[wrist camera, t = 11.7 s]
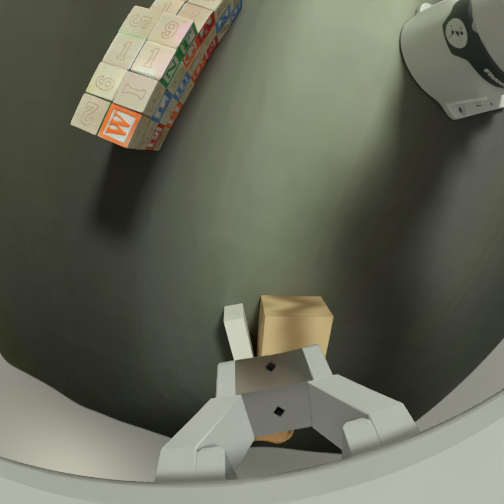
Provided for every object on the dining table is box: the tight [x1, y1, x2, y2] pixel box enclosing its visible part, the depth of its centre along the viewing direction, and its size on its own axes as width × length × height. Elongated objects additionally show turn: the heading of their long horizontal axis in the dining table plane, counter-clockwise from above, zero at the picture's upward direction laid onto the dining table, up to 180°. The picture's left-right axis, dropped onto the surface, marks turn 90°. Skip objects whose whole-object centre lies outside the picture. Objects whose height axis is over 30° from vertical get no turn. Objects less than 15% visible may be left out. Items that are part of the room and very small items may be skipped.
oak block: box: [256, 295, 333, 357], centre depth 39 cm, size 8×10×6 cm
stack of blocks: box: [71, 0, 242, 151], centre depth 25 cm, size 21×6×12 cm, turn 153°
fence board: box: [224, 303, 255, 361], centre depth 40 cm, size 2×13×4 cm, turn 10°
